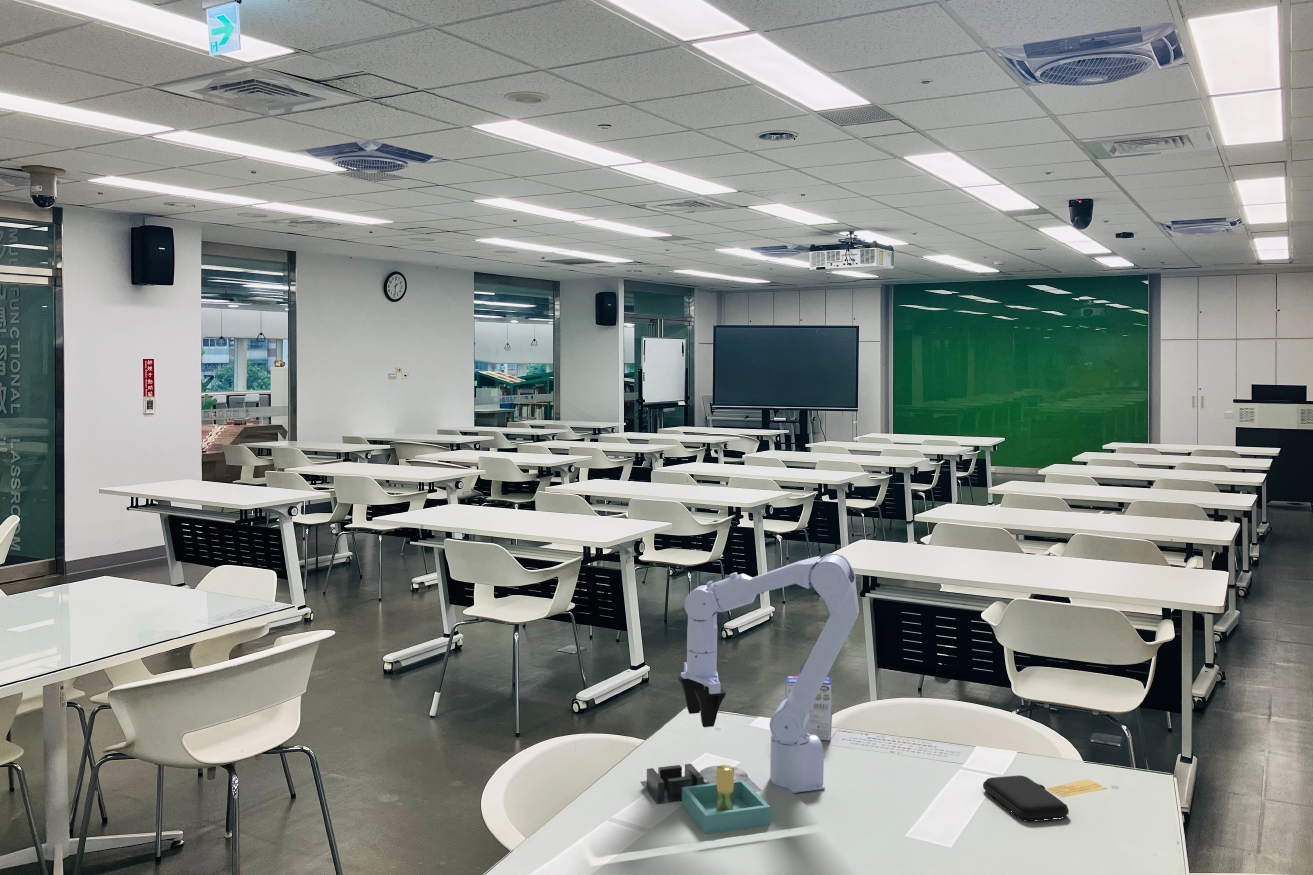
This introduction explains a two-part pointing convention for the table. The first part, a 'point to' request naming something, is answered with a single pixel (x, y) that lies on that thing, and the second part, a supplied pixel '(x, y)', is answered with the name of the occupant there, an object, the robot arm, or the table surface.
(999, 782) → the carrying case or bag
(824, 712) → the ink cartridge box
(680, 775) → the plate
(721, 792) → the pin
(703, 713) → the robot arm
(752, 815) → the tray
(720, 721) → the table surface
